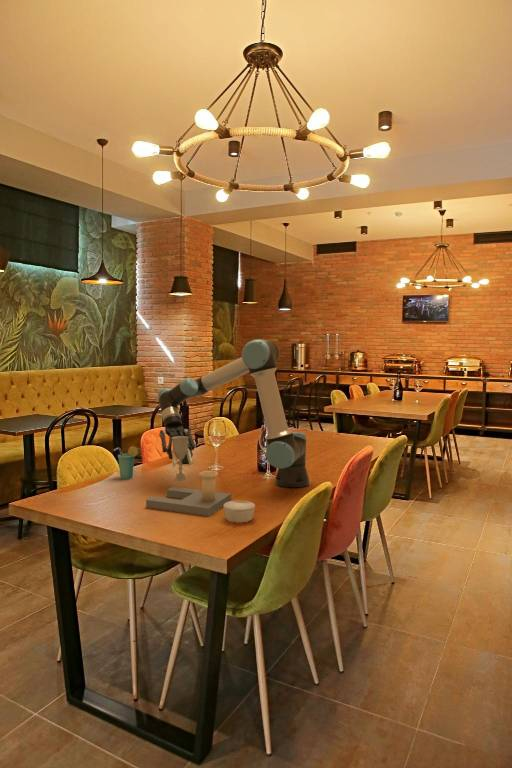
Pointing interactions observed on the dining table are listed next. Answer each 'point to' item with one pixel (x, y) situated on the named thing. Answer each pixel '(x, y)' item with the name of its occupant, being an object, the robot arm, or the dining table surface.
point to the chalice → (180, 453)
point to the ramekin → (239, 511)
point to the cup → (127, 462)
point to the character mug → (186, 455)
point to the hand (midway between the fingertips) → (182, 464)
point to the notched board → (192, 498)
